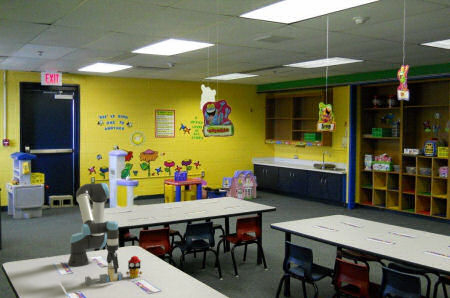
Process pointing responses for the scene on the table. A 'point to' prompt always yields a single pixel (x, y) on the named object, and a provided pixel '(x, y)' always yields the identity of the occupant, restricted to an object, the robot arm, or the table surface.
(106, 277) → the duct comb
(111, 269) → the tan yellow block
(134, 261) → the toy
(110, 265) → the robot arm
